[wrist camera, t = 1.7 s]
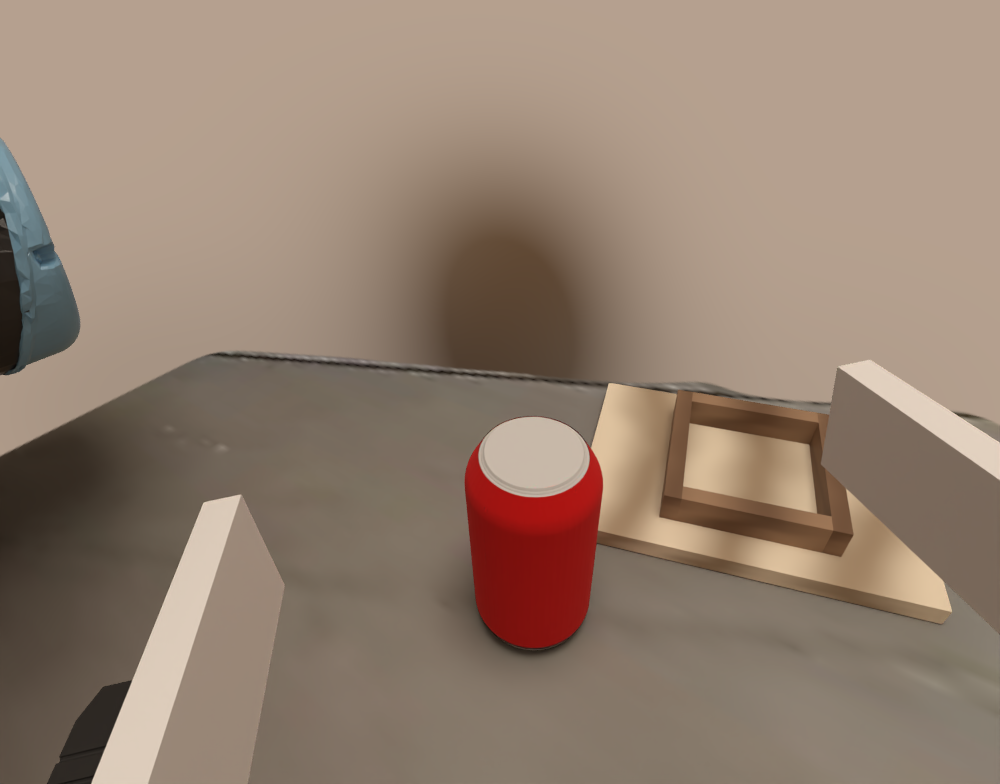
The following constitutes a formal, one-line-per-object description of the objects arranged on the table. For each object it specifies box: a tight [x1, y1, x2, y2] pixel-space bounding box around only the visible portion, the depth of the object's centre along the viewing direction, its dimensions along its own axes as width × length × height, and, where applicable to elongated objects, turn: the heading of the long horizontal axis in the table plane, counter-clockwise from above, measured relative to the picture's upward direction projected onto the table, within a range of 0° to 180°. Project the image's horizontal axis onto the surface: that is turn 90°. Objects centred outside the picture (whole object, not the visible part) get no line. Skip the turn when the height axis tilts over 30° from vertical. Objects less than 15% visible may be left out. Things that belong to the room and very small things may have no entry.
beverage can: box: [465, 416, 603, 650], centre depth 29 cm, size 6×6×12 cm
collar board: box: [591, 383, 952, 624], centre depth 38 cm, size 20×14×3 cm
